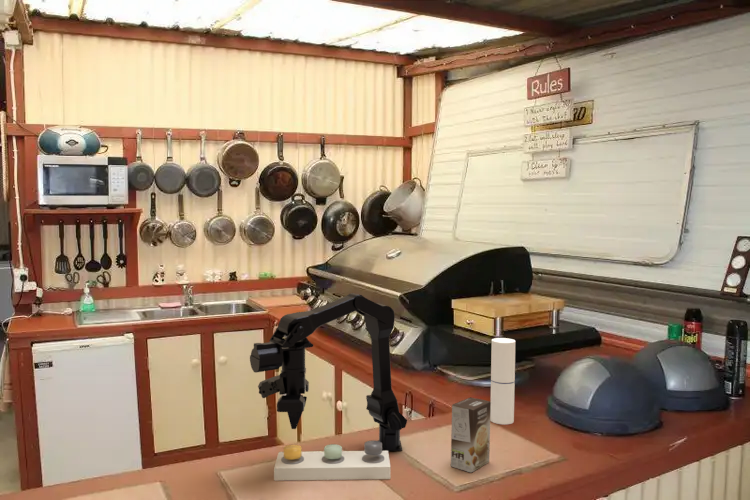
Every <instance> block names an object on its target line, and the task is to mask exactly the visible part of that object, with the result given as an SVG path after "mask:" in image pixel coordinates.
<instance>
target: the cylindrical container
mask: <svg viewBox="0 0 750 500" xmlns="http://www.w3.org/2000/svg"><path fill="white" fill-rule="evenodd" d="M490 350H491V358H490V359H491V360H490V361H491V363H490V364H491V365H490V402H491V412H490V422H492V423H494V424H497V425H511V424H513V423H514V422H515V387H516V386H515V383H516V382H515V381H516V380H515V378H516V374H515V373H516V340H515V339H513V338H508V337H507V338H506V337H495V338H492V339H491V349H490Z"/></svg>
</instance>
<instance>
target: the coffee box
mask: <svg viewBox="0 0 750 500" xmlns="http://www.w3.org/2000/svg"><path fill="white" fill-rule="evenodd" d="M490 412H491V400H489V401H488V400H486V399H482V398H476V397H475V398H474V397H468V398H465V399H462V400H461V401H458V402H456V403H452V404H451V435H450V436H451V437H450V438H451V439H450V440H451V442H450V443H451V444H450V445H451V446H450V447H451V448H450V467H452V468H455V469H457V470H461V471H464V472H467V473H473V472H475V471H477V470H478V469H480V468H482V467H483V466H485V465H487V464H488V463H489V462H490V449H491V447H490V446H491V445H490V444H491V443H490V442H491V441H490V440H491V420H490Z"/></svg>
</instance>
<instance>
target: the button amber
mask: <svg viewBox="0 0 750 500" xmlns="http://www.w3.org/2000/svg"><path fill="white" fill-rule="evenodd" d="M302 449H303V448H302V446H301V445H299V444H289V445H285V446H284V447H283V452H284V458H285V459H289V460H294V459H298V458H300V457H301V456H302V452H303V451H302Z"/></svg>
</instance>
